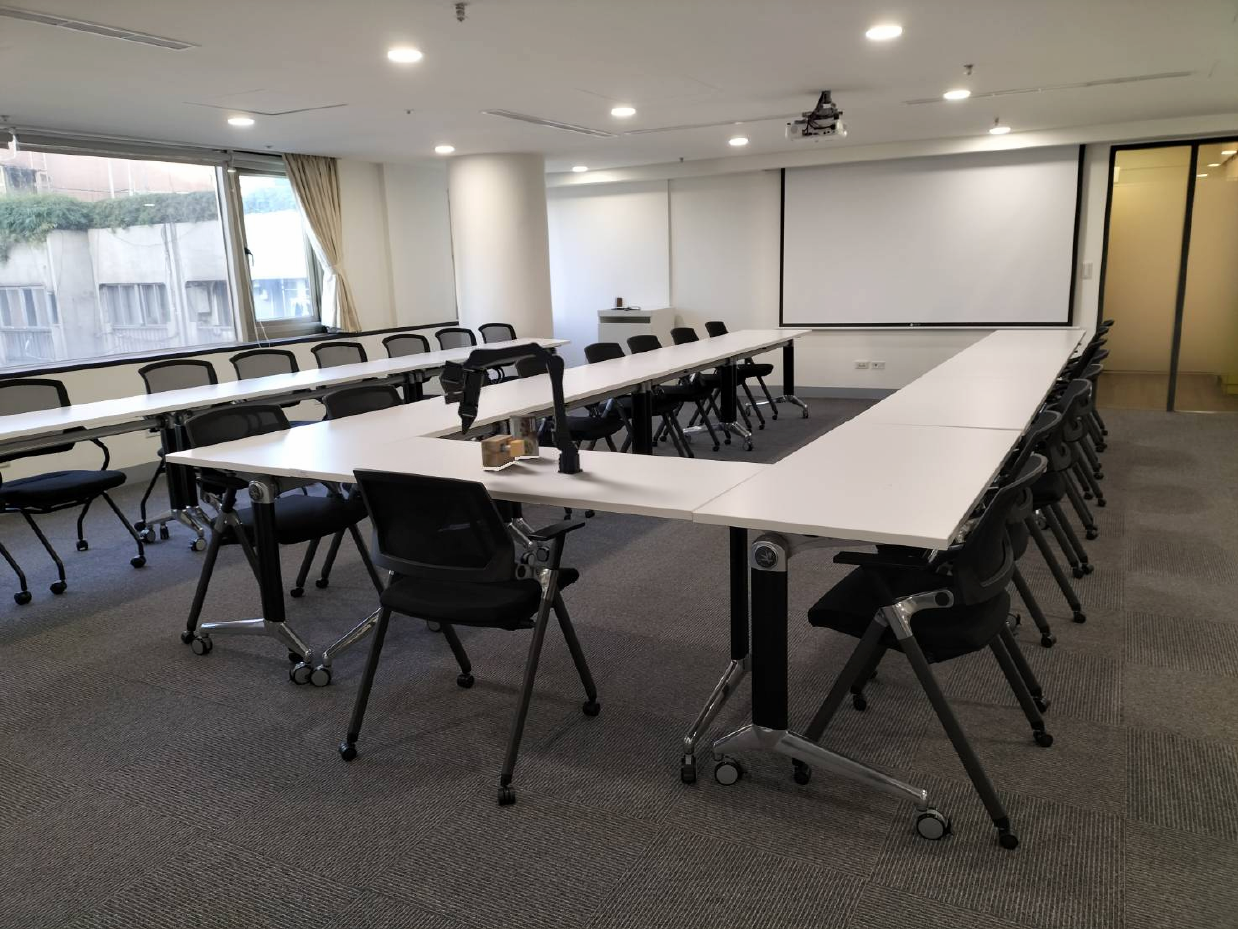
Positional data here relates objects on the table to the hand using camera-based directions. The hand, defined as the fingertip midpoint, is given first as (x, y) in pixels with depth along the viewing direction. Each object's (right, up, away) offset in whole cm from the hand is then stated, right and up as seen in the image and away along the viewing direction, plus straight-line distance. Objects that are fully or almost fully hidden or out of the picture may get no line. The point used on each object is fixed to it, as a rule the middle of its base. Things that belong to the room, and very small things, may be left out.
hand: (463, 432), depth 290 cm
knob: (+14, -7, +14) cm, 21 cm away
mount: (+9, -12, +19) cm, 24 cm away
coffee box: (+17, -8, +35) cm, 40 cm away
